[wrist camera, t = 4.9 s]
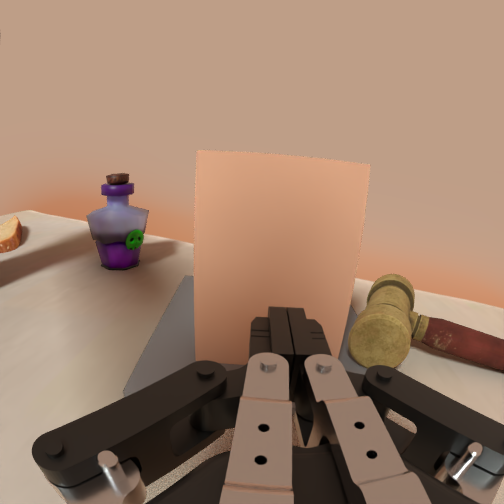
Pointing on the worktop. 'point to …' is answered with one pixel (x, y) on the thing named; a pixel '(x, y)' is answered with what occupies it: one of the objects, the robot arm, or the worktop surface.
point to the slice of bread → (10, 235)
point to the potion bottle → (118, 225)
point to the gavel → (412, 330)
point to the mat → (183, 343)
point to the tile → (273, 244)
